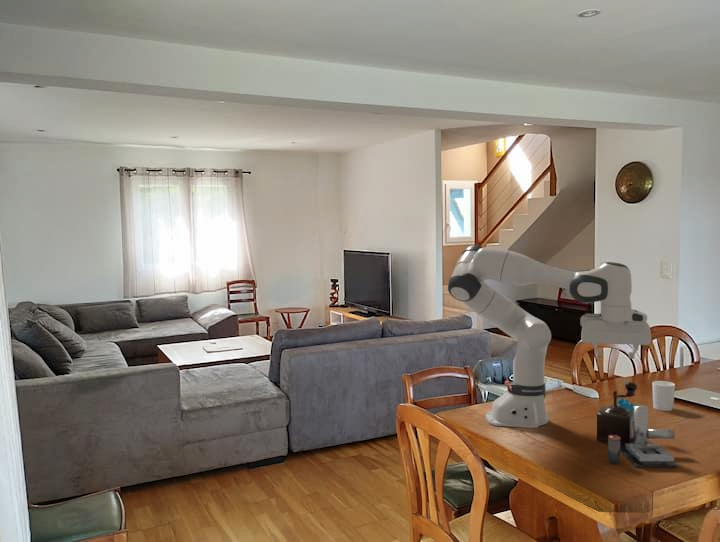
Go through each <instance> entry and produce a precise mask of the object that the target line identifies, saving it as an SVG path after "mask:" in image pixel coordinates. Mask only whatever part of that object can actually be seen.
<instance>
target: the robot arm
mask: <svg viewBox="0 0 720 542" xmlns="http://www.w3.org/2000/svg"><path fill="white" fill-rule="evenodd" d="M486 280H491V281H495V282H498V283H502V284H505V285H511V286H520V287H521V286H527V285H534V284H545V285H549V286H552V287H558V288H561V289H565V290H569V294H570V296H571V297H572V298H573V299H574V301H577V302H579V303H581V304H591V303H595V302H596V303H597V302H600V313H589V312H588V313H585V314H583V315H581V317H580V319H579V320H580V321H579V322H580V323H579V324H580V326H581V334H580V336H581V337H580V338H581V341H582V342H583V343H587V344H592V346H593V348H594V350H595V352H596V358H602V357H603V355H602V354H603V351H602V350H599V348H597V347H599V344H606V345H607V344H611V345H612V344H613V345H631V346H632V347H633V349H632V351H628V359H630V360H631V359H632V360H633V359H634V360H635V354H636V353H637V351H638V350H639V346H650V344H651V343H652V333H651V332H652V331H651V327H650V325H649V323H648V322H647V321H648V315H647V314H646V313H644V312H643V311H639V310H636V309H633V308H632V301H631V295H632V291H633V290H632V282H633V281H632V273H631V269H630V268H629V267H628V266H627V265H625V264H622V263H620V262H611V261H607V262H603V263H602V264H601V265H599V266H598V267H596V268H593V269H583V270H569V269H565V268H562V267H561V268H560V267H556V266H552V265H548V264H545V263H543V262H541V261H537V260H536V259H534V258H531V257H529V256H527V255H525V254H522V253H519V252H516V251H513V250H508V249H504V248H499V247H487V246H485V247H483V246H481V245H476V244H472V245H468V246H467V247H466V248H465V249H464V250H463V251H462V253H461V256H460V257H459V259H458V260H457V262H456V264H455V265H454V269H453V271H452V274H451V277H450V278H449V280H448V284H447V290H448V293H449V295H450V296H451V297H452V298H453V299H455V300H457V301H458V302H462V303H463V304H464V305H465V306H466V307H468V308H469V309H470V310H471V311H472V312H474V313H475V314H477V315H478V316H480V317H481V318H483V319H484V320H485V321H487V322H489V323H490V324H491V325H493V326H494V327H496V328H498V329H499V330H500V331H502V332H503V333H504V334H507V335H508V336H510V337H511V338H512V339H514V340H515V341H516V342H517V344H516V351H515V356H514V358H513V362H512V365H513V366H512V374H513V375H512V381H509V380H505V381H504V386H505V387H507V391H506V392H505V393H503V394H502V395H500V396H499V397H498V398H496V399H495V400H494V401H493V403H492V406H491V411H487V412H486V414H485V419H486V422H488V423H489V424H491V425H493V426H497V427H513V428H523V429H524V428H525V429H526V428H527V429H528V428H529V429H536V428H538V427H540V426H543V425H546V424H548V423H549V419H548V415H547V410H546V409H547V408H546V401H545V399H546V382H545V361H546V356H547V350H548V346H549V344H550V342H551V340H552V332H551V330H550V328H549V326H548V325H547V323H546V322H545V321H543V320H541V319H539V318H538V317H535V316H534V315H533V314H530V313H529V312H528V311H526V310H525V309H523V308H522V307H521V306H519V305H518V304H517V303H515V302H514V301H513V300H511V299H510V298H508V297H507V296H505V295H504V294H502V293H501V292H499V291H498V290H497V289H495V288H493V287H492V286H491V285H489V284H487V283H486Z"/></svg>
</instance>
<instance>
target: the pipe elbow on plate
mask: <svg viewBox="0 0 720 542" xmlns="http://www.w3.org/2000/svg"><path fill="white" fill-rule="evenodd" d="M633 405H634V404H633ZM633 408H634V422H633V441H632V443H631V444H625V445H620V454H622V455H623V457H624V458H626V459H627V460H628V462H630V463H631V464H632V465H633V466H634V467H635V468H637V469H638V468H639V469H640V468H641V469H643V468H644V469H645V468H647V469H649V468H650V469H651V468H653V469H654V468H656V469H657V468H658V469H660V468H662V469H664V468H665V469H667V468H668V469H678V464H676V463H675V462H674V461H675V457H674V456H673V455H672V454H671V453H670V452H669V451H667V450H666V449H665V448H664V447H662V446H661V445H660V444H659V443H648V439H653V440H654V439H661V440H662V439H664V440H665V439H670V440H671V439H675V437H676V436H675V434H676V433H675V430H674V429H667V428H666V429H663V428H660V429H658V428H657V429H654V428H653V429H652V428H651V429H650V428H649V429H648V427H649V426H648V420H649V407H648V406H647V405H643V404H635V405H634V406H633Z"/></svg>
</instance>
